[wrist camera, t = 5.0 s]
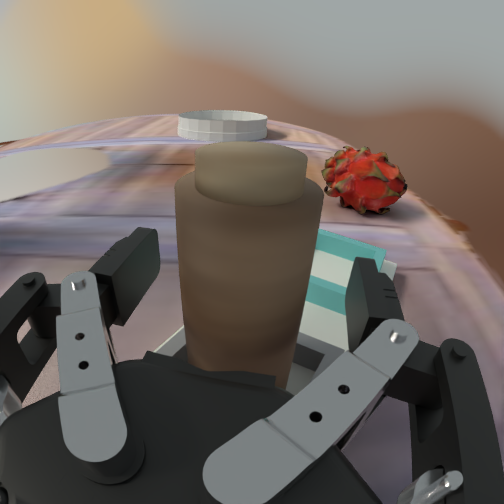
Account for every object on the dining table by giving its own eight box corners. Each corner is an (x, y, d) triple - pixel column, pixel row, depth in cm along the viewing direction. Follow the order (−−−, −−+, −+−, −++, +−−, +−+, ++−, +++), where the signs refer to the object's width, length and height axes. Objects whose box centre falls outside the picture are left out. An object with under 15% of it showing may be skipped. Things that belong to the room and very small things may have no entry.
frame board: (278, 527, 9) (288, 516, 8) (102, 414, 14) (85, 383, 12) (393, 275, 26) (402, 248, 25) (290, 241, 30) (293, 214, 29)
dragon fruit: (306, 212, 40) (388, 230, 42) (330, 195, 32) (424, 220, 33) (314, 151, 41) (391, 173, 43) (337, 123, 33) (425, 153, 34)
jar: (180, 369, 15) (160, 143, 10) (258, 347, 17) (279, 136, 12) (212, 441, 12) (200, 183, 6) (300, 408, 14) (361, 171, 8)
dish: (208, 124, 89) (208, 108, 87) (279, 133, 82) (281, 115, 79) (158, 137, 72) (158, 117, 69) (242, 147, 64) (243, 124, 62)
